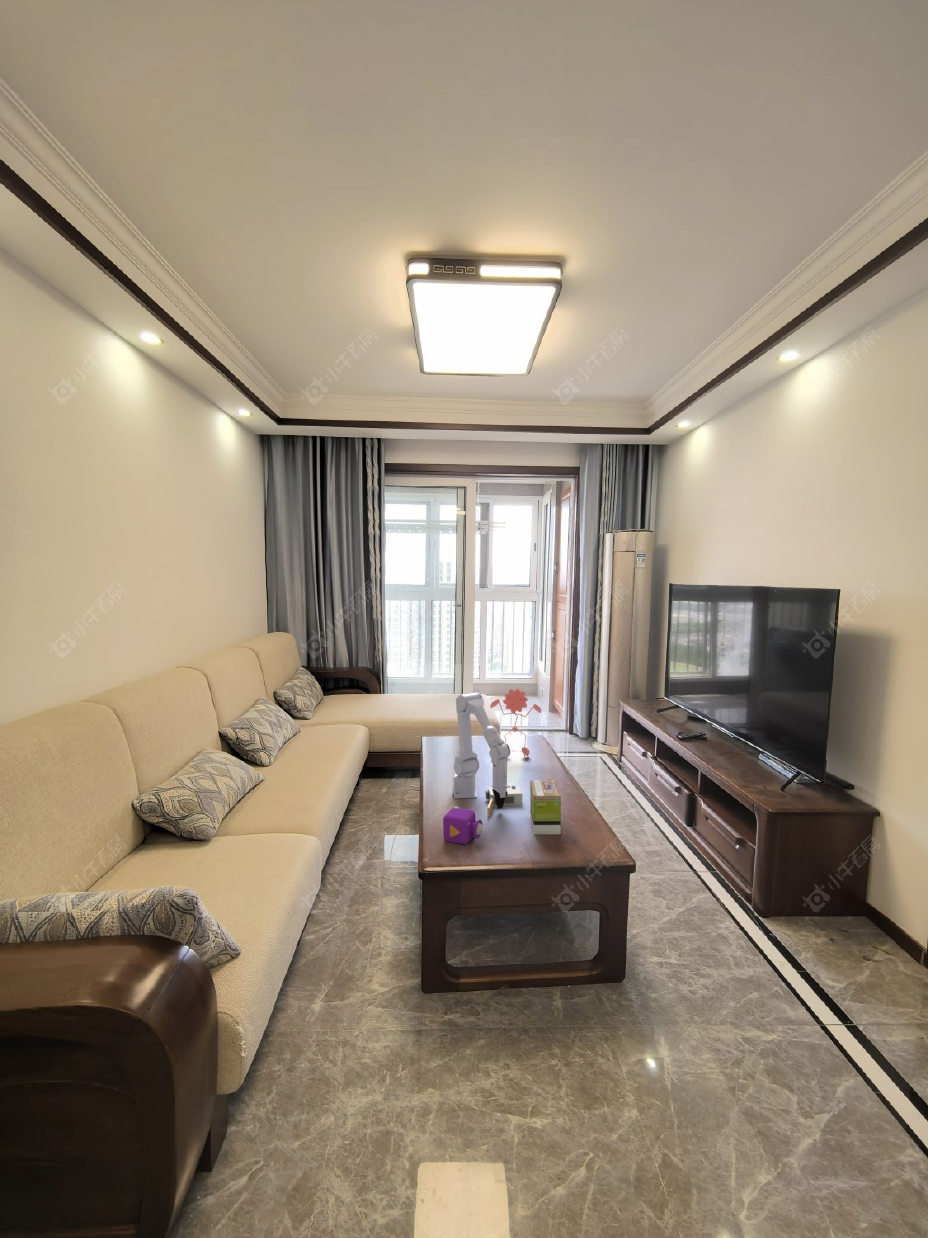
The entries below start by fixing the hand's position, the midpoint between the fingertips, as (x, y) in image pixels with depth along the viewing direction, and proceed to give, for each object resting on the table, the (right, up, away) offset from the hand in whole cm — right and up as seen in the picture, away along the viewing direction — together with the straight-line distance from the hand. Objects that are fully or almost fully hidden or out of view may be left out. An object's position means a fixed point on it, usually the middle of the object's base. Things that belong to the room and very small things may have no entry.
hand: (499, 808), depth 212 cm
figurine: (+12, +4, +66) cm, 67 cm away
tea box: (+16, -3, -11) cm, 20 cm away
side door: (-4, -2, +1) cm, 4 cm away
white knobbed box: (+3, -1, +11) cm, 11 cm away
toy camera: (-14, -4, -21) cm, 26 cm away
